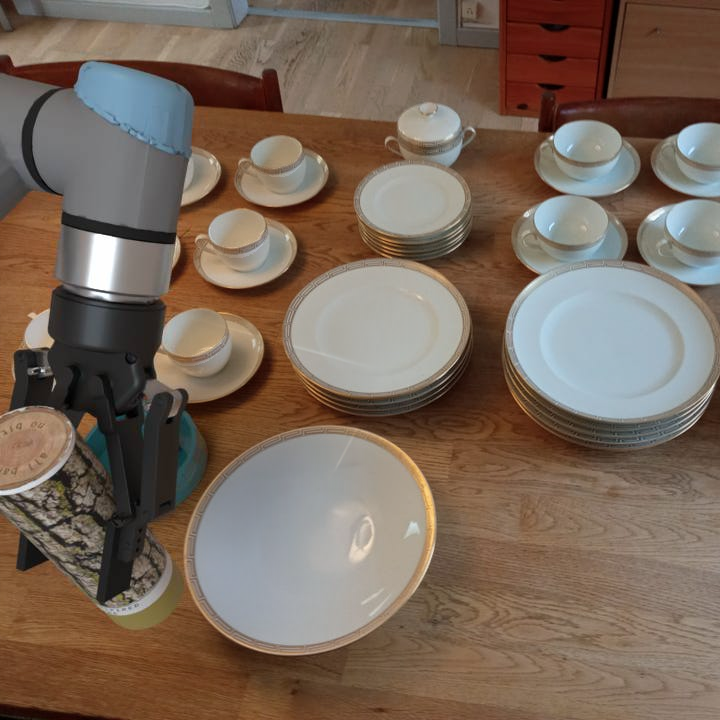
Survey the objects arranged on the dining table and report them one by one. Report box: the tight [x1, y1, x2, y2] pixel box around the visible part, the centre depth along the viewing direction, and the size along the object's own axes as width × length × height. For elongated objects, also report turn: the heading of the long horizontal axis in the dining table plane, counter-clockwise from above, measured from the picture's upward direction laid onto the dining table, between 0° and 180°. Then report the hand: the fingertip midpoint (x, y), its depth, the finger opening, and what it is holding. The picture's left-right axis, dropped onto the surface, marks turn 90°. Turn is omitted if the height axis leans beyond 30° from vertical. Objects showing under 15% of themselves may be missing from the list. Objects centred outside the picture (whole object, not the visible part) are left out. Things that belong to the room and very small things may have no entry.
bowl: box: [83, 400, 209, 507], centre depth 90 cm, size 14×14×4 cm
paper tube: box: [0, 406, 185, 631], centre depth 58 cm, size 7×7×25 cm
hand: (73, 578), depth 57 cm, fingers closed on paper tube, 7 cm apart
